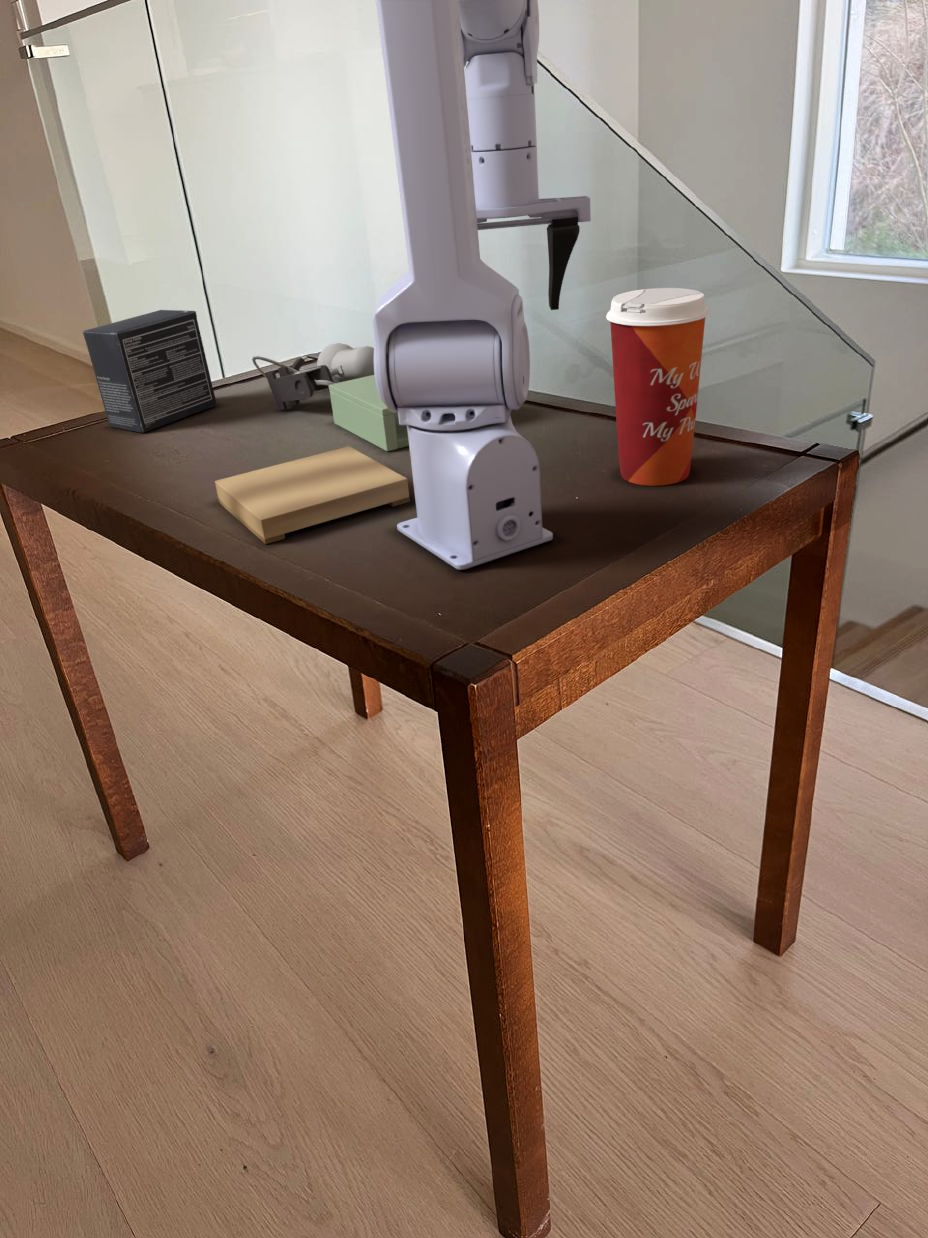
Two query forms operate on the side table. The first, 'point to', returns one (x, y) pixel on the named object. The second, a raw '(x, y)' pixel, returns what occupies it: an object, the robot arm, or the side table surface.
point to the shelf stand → (367, 413)
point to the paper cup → (656, 380)
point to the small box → (151, 369)
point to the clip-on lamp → (318, 373)
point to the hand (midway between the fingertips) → (512, 311)
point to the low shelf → (309, 492)
